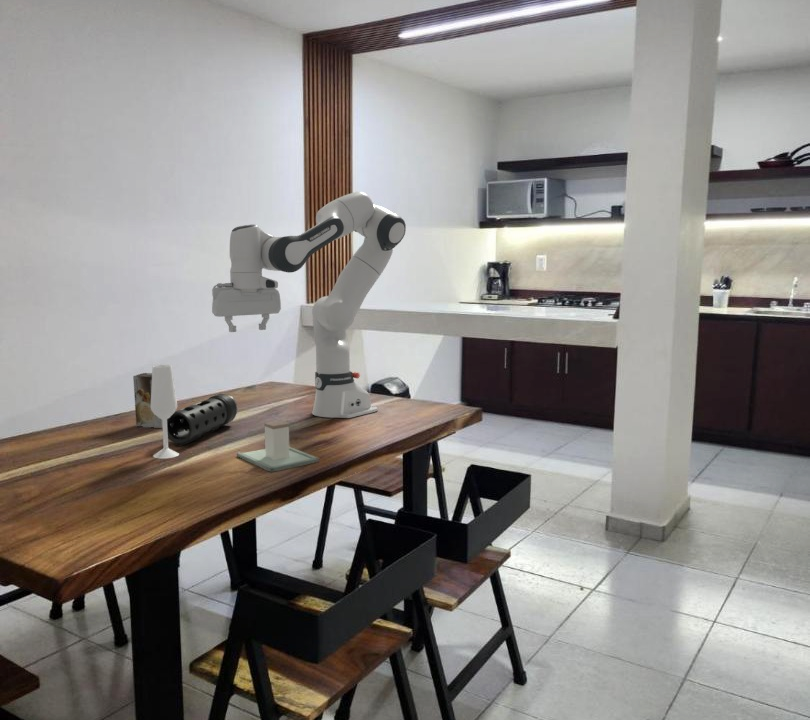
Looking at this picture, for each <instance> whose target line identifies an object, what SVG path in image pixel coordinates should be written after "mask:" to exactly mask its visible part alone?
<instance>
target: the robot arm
mask: <svg viewBox="0 0 810 720" xmlns="http://www.w3.org/2000/svg"><path fill="white" fill-rule="evenodd" d="M315 215H316V216H315V223H316V225H314V226H312V227H311V228H308V230H305V231H304V232H302V233H301V234H299V235H288V236H287V235H286V236H274V235H272V234H269V233H267V232H265V230H263V229H261V227H259V225H257V224H246V225H240V226H235V227H234V228H233V229H232V230H231V232H230V236H229V259H230V264H231V266H230V269H229V274H230V275H229V278H230V282H225V283H221V282H218V283H216V284H215V285H214V286H213V287H212V290H211V291H212V292H211V293H212V294H211V295H212V304H211V305H212V306H211V312H212V315H214V317H218V318H219V317H222V318H223V317H224V321H225V323H226V324H227V326H228V331H229V333H236V332H237V325H234V323H233V322H232V321H233V320H234V319H233V317H236V316H239V317H240V316H255V315H261V318H262V320H261V323H258V330H259V331H265V330H267V324H268V322H269V319H270V315H273V314H279V313H280V312H281V309H282V306H281V305H282V304H281V296H280V292H279V290H278V287H279V282H278V281H277V280H275V279H272V278H268V277H265V276H263V269H264V270H268V271H274V272H275V271H276V272H284V273H288V274H289V273H296V272H297V271H299V270H301V269H302V267H303V266H305V264H306V263H307V261H308V259H309V258H310V257H311V256H312V255H313V254H315V253H316V252H318V251H320V250H322V249H323V248H325V247H326V246H327V245H329V244H330V243H332V242H334V241H336V240H339V239H341V238H343V237H346V236H348V235H349V234H351V233H353V232H355V233H358V234H359V235H361V236H363V237H364V239H363V242H362V244H361V246H359V247H358V249H357V250H356V251H355V253H354V254H353V255H352V257H351V258H350V260H349V261H348V262H347V263H346V265H345V266H344V268H343V269H342V270H341V272H340V273H339V275H338V277H337V280H336V282H335V284H334V286H333V288H332V290H331V292H330V293H329V294H328V295H326V296H322V297H320V298H318V299H317V300H316V301H315V303H313V307H312V309H311V310H312V311H311V313H312V314H311V315H312V324H313V325H312V326H313V335H314V343H315V359H316V360H315V361H316V363H315V366H316V370H315V372H314V373H315V374H314V384H315V385H314V386H315V398H314V403H313V407H312V408H313V409H312V412H311V414H312V415H314V416H315V417H322V418H332V419H333V418H341V419H351V418H354V417H359V416H362V415H366V414H371V413H374V412H378V410H379V409H378V407H377V406H375V405H373V404H372V402H371V401H372V400H371V396H370V394H369V392H368V391H367V390H366V389H365V388H364V387H362V386H360V385H359V384H358V383H357V382H355V379H360V377H361V374H360V372H356V371H354V372H353V371H351V368H350V363H351V361H350V360H351V359H350V346H349V341H348V334H347V329H349V328H351V326H352V325H353V323H354V322H355V317H356V316H357V314H358V313H359V310H360V309H361V307H362V305H363V302H364V300H365V298H366V297H367V295H368V294H369V292H370V291H371V289H372V288H373V286H374V285H375V284H376V282H377V281H378V279H379V278H380V276H381V275H382V273H383V272H384V270H385V269H386V267H387V266H388V263H389V262H390V259H391V258H392V257H391V256H392V255H393V249H394V248H395V247H397V246H398V245H399V244H400V243H401V242H402V240H403V239H404V237H405V234H406V229H407V227H406V222H405V220H404V219H403V218H402V216H401V215H399V214H397V213H395V212H393V211H391V210H389V209H388V208H386V207H384V206H381V205H378V204H374V202H373V201H372V199H371V197H370V196H369V195H368V194H367V193H365V192H363V191H356V192H351V193H347V194H345V195H342V196H339V197H338V198H336V199H334V200H332V201H330V202H328V203H327V204H325V205H324V206H322V207H321V208H320V209H319V210H318V211H317V212H316V214H315Z"/></svg>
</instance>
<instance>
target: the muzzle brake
mask: <svg viewBox="0 0 810 720" xmlns="http://www.w3.org/2000/svg"><path fill="white" fill-rule="evenodd" d="M238 406H239V405H238V403H237V401H236V399H235V398H234V397H233V396H232V395H229V394H225V393H219V394H215V395H212V396H210V397H209V398H208V399H204V400H203V401H199V402H197V403H194V404H191V405H189V406H186V407H184V408H180V409H178V410H176V411H175V412H174V414H173V415H172V416H171V417H170V418H168V419H167V432H168V441H171V442H172V443H175V444H176V446H177V447H182V446H185V445H187V444H188V443H192V442H193V441H195V440H198V439H199V438H200V437H203V436H204V434H206V433H209V432H211V431H214V432H216V431H218V430H220V427H223V426H225V425H228V424H229V423H232V422H233V421H234V419H235V418H236V416H237V414H238V410H239V408H238ZM170 424H171V425H170ZM217 429H218V430H217ZM215 430H216V431H215Z"/></svg>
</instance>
